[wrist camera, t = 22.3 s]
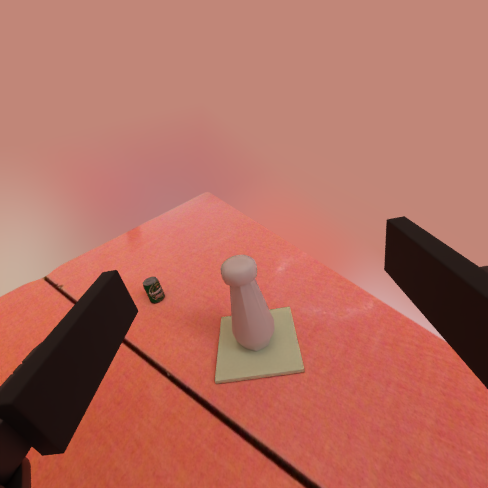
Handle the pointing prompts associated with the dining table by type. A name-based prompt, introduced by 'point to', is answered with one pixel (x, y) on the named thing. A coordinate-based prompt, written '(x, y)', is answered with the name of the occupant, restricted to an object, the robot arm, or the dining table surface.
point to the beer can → (153, 289)
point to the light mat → (259, 352)
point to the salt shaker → (247, 303)
